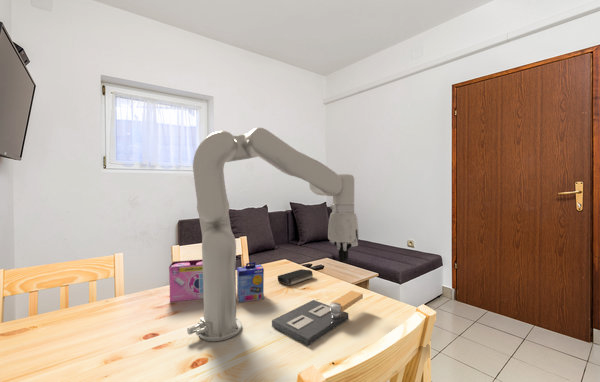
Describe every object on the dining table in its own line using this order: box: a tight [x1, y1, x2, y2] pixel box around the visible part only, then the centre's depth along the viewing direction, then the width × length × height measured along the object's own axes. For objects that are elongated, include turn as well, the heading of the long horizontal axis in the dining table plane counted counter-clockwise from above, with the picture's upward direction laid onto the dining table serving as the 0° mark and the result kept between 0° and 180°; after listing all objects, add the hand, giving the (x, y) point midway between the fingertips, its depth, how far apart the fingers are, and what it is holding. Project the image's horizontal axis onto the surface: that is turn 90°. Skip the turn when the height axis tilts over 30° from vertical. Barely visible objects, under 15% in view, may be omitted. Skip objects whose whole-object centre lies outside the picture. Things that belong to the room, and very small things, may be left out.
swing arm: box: [329, 290, 364, 313], centre depth 91 cm, size 4×15×2 cm, turn 138°
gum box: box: [168, 259, 203, 303], centre depth 109 cm, size 24×8×14 cm, turn 104°
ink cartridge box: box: [236, 261, 265, 303], centre depth 106 cm, size 10×6×14 cm, turn 111°
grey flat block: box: [271, 299, 349, 347], centre depth 87 cm, size 20×15×4 cm
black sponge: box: [277, 268, 314, 286], centre depth 125 cm, size 16×8×4 cm, turn 133°
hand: (343, 260), depth 97 cm, fingers closed
